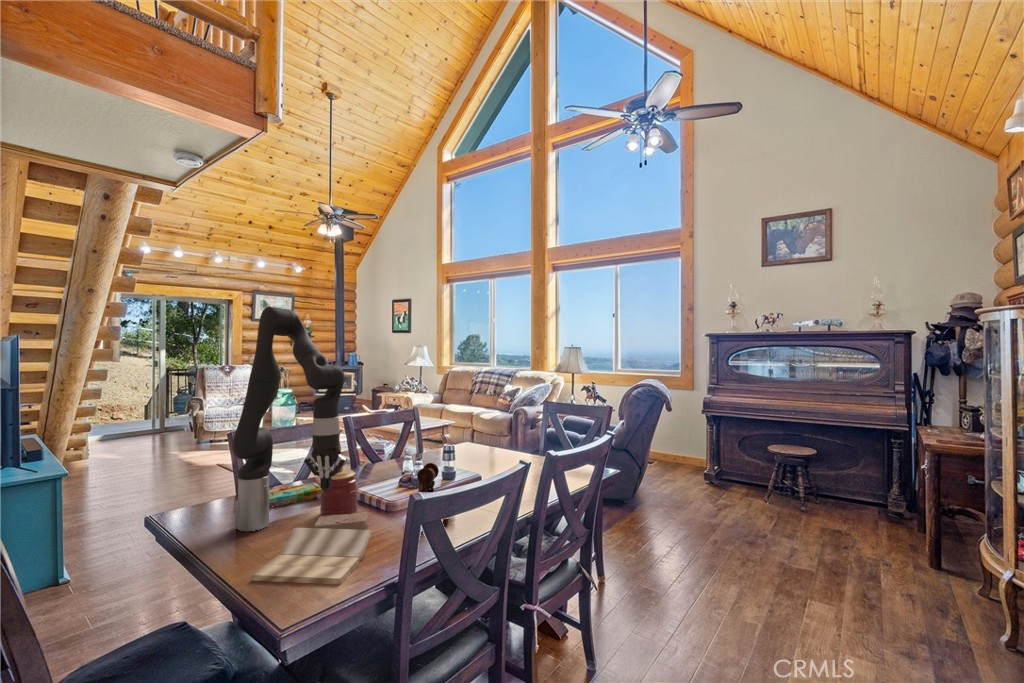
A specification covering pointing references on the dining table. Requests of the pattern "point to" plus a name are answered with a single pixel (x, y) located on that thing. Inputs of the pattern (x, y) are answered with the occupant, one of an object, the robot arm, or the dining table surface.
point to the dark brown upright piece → (428, 479)
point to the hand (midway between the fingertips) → (326, 489)
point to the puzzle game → (293, 494)
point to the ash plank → (326, 542)
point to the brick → (344, 521)
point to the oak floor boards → (307, 569)
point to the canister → (340, 494)
